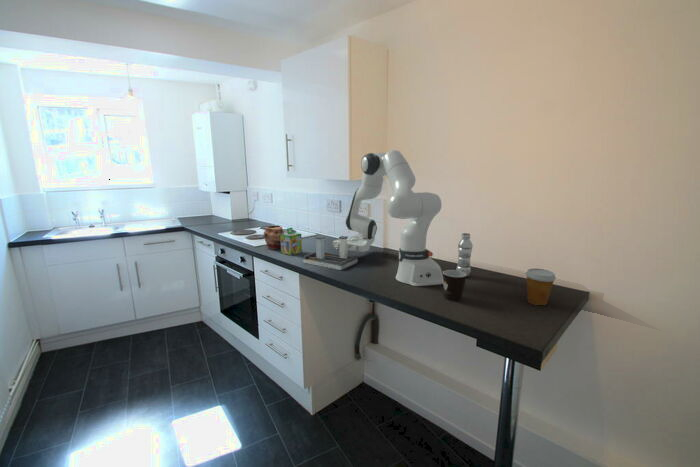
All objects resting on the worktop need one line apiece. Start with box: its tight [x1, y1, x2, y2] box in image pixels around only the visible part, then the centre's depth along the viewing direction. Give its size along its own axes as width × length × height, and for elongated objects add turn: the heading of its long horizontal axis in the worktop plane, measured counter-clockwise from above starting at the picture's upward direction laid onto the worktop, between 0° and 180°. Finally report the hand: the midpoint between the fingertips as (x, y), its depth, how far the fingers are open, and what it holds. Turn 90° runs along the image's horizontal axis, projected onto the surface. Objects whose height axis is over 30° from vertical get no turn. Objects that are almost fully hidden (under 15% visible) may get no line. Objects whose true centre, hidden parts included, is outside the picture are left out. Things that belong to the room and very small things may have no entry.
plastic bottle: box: [455, 232, 474, 278], centre depth 146 cm, size 6×7×20 cm
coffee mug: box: [442, 269, 467, 302], centre depth 123 cm, size 12×9×10 cm
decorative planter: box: [263, 224, 285, 250], centre depth 199 cm, size 20×12×14 cm, turn 43°
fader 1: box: [314, 235, 326, 259], centre depth 166 cm, size 3×3×12 cm
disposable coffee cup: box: [525, 268, 557, 306], centre depth 118 cm, size 10×10×12 cm
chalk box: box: [280, 227, 303, 256], centre depth 186 cm, size 9×9×15 cm
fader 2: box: [338, 235, 349, 259], centre depth 167 cm, size 3×3×12 cm
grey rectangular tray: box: [302, 251, 359, 271], centre depth 168 cm, size 24×16×4 cm, turn 58°
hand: (342, 248), depth 166 cm, fingers open, 7 cm apart
